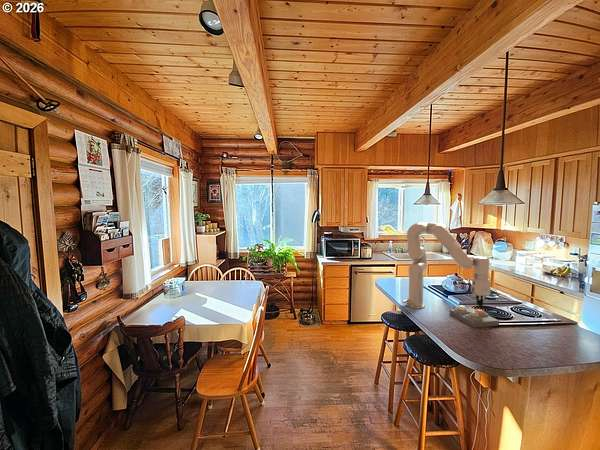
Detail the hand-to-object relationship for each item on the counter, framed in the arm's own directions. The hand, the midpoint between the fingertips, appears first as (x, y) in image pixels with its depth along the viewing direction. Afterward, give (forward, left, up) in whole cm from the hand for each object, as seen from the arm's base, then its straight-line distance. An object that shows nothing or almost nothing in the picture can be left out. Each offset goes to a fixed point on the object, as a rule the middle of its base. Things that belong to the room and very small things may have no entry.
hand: (479, 305), depth 169 cm
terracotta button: (0, 0, -6) cm, 6 cm away
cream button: (-8, +5, -4) cm, 11 cm away
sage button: (-8, -5, -5) cm, 11 cm away
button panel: (-4, 0, -9) cm, 10 cm away
